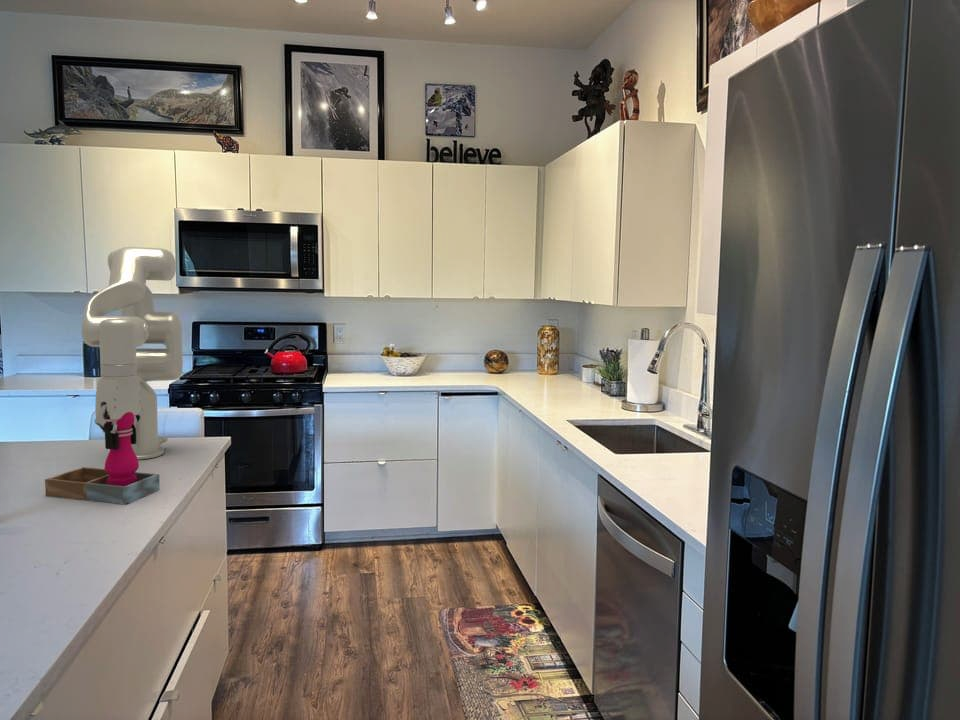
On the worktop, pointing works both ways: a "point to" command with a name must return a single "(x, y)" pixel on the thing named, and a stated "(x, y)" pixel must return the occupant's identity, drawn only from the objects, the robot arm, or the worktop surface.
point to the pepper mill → (122, 455)
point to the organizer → (99, 486)
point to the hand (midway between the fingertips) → (121, 445)
